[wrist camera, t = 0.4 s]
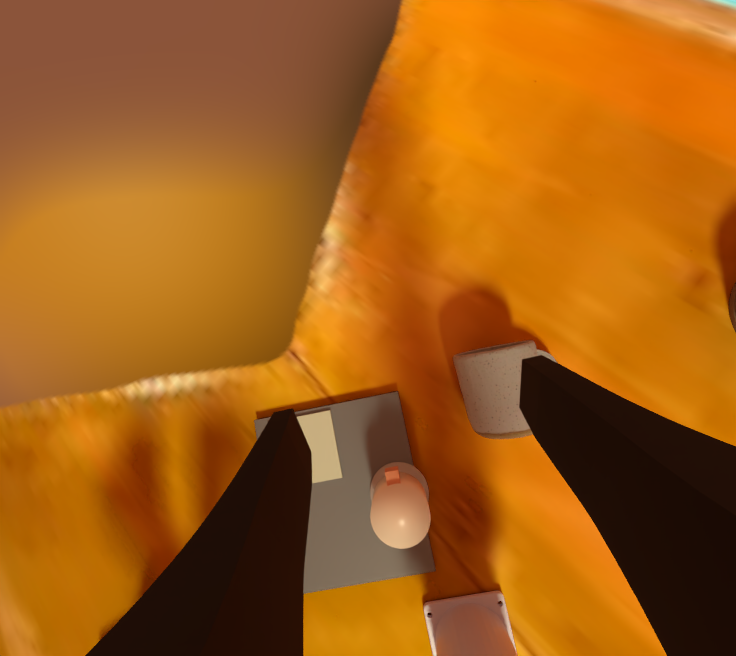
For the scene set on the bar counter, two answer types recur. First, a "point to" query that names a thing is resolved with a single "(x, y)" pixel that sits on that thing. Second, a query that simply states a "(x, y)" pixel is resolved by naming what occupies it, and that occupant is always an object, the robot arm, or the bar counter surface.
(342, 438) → the board
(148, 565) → the bar counter surface
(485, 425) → the ceramic mug
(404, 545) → the domed cylinder with nub
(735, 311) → the can
